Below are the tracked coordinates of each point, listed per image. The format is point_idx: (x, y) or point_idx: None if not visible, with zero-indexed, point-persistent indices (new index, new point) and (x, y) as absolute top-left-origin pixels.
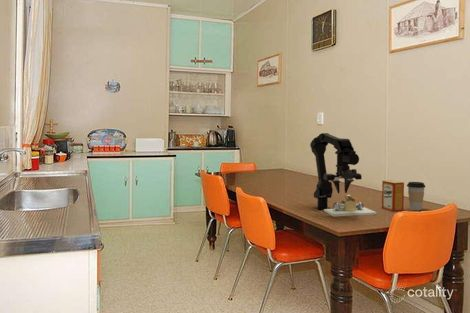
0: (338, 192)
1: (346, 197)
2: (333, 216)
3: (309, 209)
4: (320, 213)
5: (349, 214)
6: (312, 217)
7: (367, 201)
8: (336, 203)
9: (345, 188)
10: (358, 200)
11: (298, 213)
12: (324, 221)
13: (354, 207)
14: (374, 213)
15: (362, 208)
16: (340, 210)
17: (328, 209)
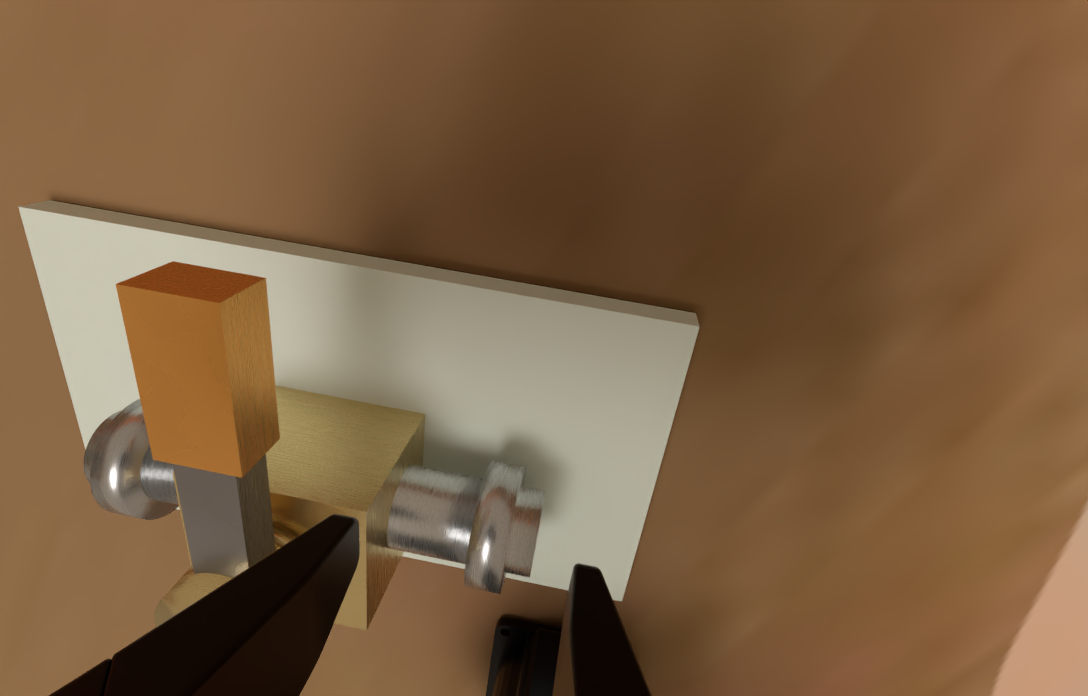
0: (605, 587)
1: None
2: (690, 312)
3: (720, 691)
4: (734, 515)
5: (437, 274)
6: (1019, 379)
7: (4, 693)
8: (506, 552)
9: (275, 675)
10: (153, 274)
11: (997, 612)
12: (1083, 64)
13: None
14: (61, 207)
15: None
16: (460, 473)
17: None
